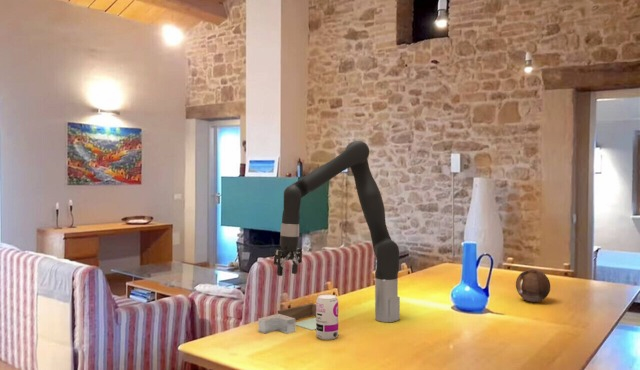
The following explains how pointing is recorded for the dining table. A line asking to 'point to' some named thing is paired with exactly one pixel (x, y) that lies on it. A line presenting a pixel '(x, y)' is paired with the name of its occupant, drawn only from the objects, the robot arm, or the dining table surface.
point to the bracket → (276, 324)
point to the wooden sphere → (533, 285)
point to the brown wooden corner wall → (300, 311)
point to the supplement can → (327, 317)
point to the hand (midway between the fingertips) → (287, 274)
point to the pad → (307, 324)
